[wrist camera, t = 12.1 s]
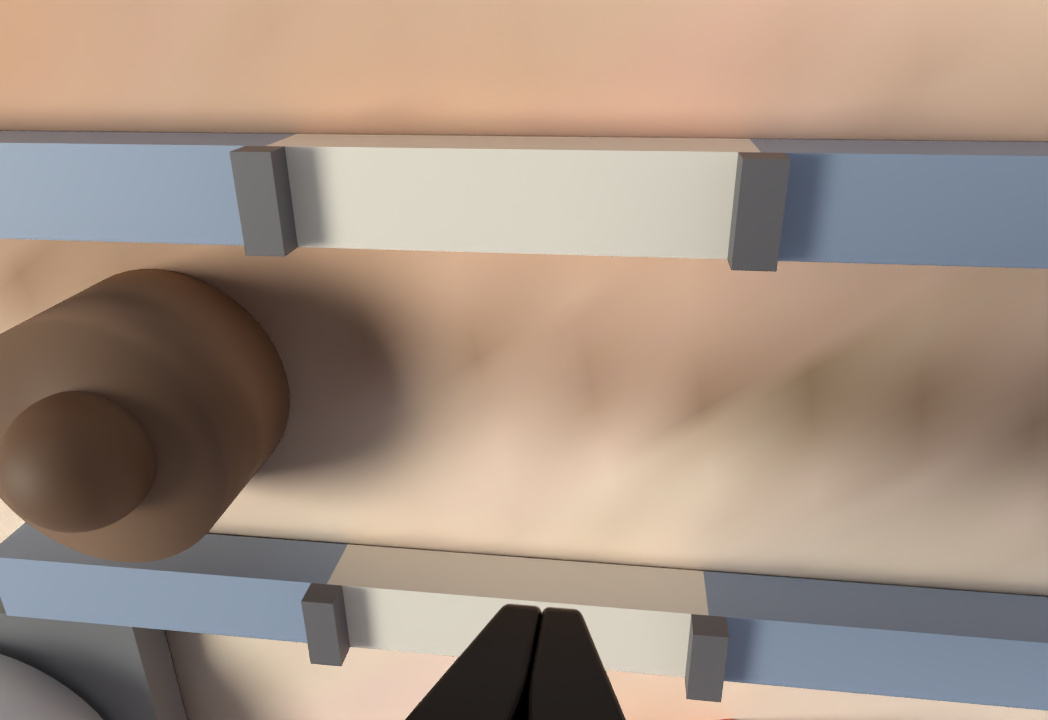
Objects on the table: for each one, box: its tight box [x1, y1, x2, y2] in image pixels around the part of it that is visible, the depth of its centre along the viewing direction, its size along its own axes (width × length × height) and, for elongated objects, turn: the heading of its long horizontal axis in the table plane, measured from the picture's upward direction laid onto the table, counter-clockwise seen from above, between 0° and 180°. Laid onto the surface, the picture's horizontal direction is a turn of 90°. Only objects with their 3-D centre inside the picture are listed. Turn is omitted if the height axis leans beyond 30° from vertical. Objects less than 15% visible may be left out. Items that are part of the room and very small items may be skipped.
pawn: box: [0, 269, 290, 563], centre depth 13 cm, size 4×4×4 cm
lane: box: [0, 131, 1048, 710], centre depth 13 cm, size 10×21×2 cm, turn 91°
